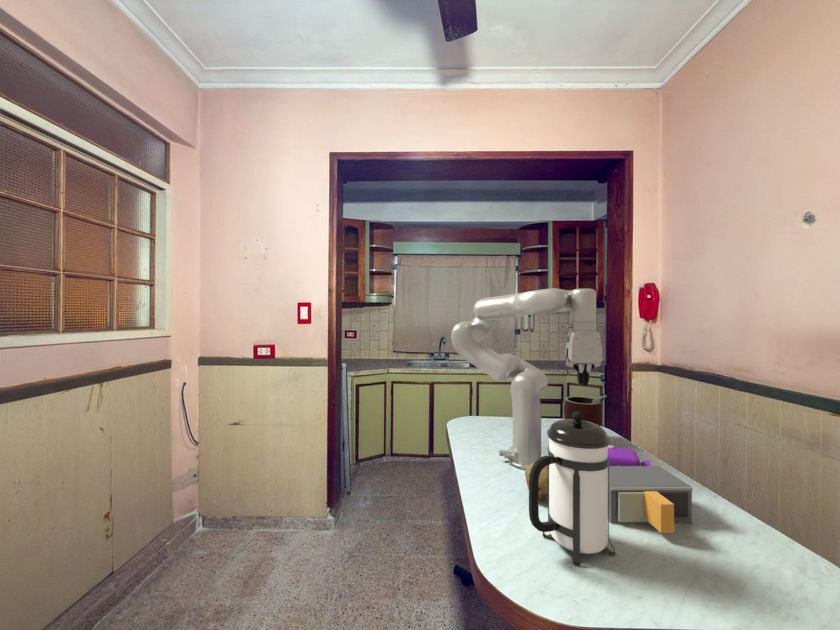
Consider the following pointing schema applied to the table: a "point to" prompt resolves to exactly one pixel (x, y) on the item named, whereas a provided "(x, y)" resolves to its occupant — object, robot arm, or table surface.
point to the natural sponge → (542, 481)
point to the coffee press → (575, 487)
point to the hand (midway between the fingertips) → (583, 384)
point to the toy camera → (624, 457)
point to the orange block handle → (646, 509)
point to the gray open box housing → (650, 489)
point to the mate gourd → (584, 408)
